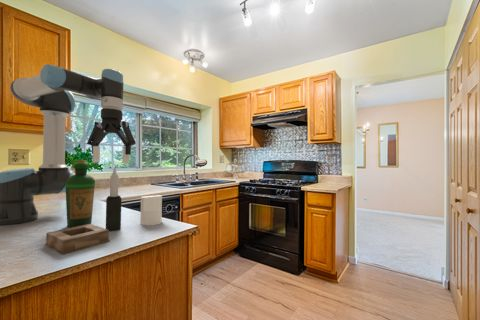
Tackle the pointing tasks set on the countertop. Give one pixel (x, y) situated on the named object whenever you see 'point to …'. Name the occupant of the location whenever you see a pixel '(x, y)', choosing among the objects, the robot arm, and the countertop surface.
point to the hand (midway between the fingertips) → (110, 162)
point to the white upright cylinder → (151, 210)
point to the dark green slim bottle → (113, 205)
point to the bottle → (79, 196)
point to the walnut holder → (76, 238)
